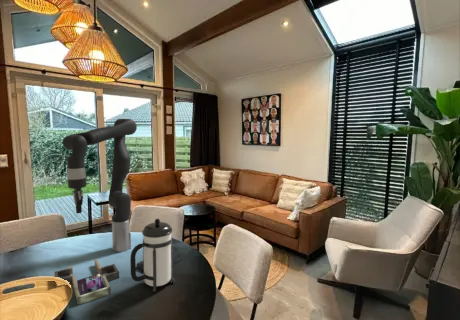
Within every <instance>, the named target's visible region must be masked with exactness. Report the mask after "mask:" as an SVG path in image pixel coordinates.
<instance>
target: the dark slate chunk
mask: <svg viewBox="0 0 460 320" xmlns="http://www.w3.org/2000/svg"><path fill="white" fill-rule="evenodd" d="M181 260H182V259H181V257H179V252H178V251H177V250H175V249H174V248H173V247H172V265H173V264H174V265H176V264H178V263H180V262H182V261H181ZM179 261H180V262H179ZM177 262H178V263H177ZM175 263H176V264H175ZM174 265H173V266H174ZM136 268H139V269H140V270H141V271H143V272H144V262H143V260H142V261H139V262H136Z"/></svg>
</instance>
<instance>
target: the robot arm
mask: <svg viewBox="0 0 460 320" xmlns="http://www.w3.org/2000/svg"><path fill="white" fill-rule="evenodd" d="M137 128H138V127H137V123H136V121H135V120H133V119H131V118H117V119H115V121H114V124H113V125H111V126H104V127H98V128H94V129H90V130H87V131H85V132H83V131H82V132H78V133H77V132H76V133H72V134H68V135H66V136H65V137H63V140H62V145H63V147H64V148H65V149H67V150H69V151H71V155H69V156H68V157H67V158H66V159H67V161H66V163H67V173H66V174H67V176H66V177H67V188H69V189H71V190H72V196H73V201H74V206H75V212H76V214H82V211H83V210H82V209H83V208H82V207H83V206H82V205H83V203H84V191H83V189H82V188H85V187H87V172H86V164H85V161H86V160H85V157H86V153H87V149H88V146H93V145H96V144H99V143H102V142H105V141H107V140H111V139H113V155H112V156H113V157H112V166H111V167H112V169H111V171H112V173H111V182H110V189H109V194H108V205H110V207H112V208H114V209H115V214H112V216H111V231H112V233H111V235H112V236H111V237H112V239H111V240H112V251H114V252H115V253H121V252H126V251H127V250H129V249H132V234H131V233H132V232H131V231H130V216H131V214H132V213H131V211H132V210H131V207H132V202H131V201H132V200H131V196H130V194H128V193H126V192H123V187H124V182H125V179H126V178H127V176H128V174H129V172H130V169H131V168H130V167H131V156H130V153H129V150H128V148H127V145H126V136H131V135H134V133H136V131H137Z"/></svg>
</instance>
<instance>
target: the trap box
mask: <svg viewBox="0 0 460 320" xmlns="http://www.w3.org/2000/svg"><path fill="white" fill-rule="evenodd" d="M94 266H95V269H96V271H97V274H98V273H101V281H102V285H103V286H104V287H102V289H101V288H100V289H99V290H98V289H95V290H96V291H95V290H92V291H93V292H92V291H90V292H88V293H87V294H84V295H80V293H79V290H78V285H77V279H76V276H75V274H73V271H74V270H73V265H69V267H67V268H64V269H59V270H55V271H54V278H55V277H60V278H62V279H64V280H67V281H68V282H70V284H72V286H73V292H74V295H75V298H76V303H77V305H81V304H85V303H87V302H91V301H93V300H96V299H99V298H102V297H106V296H109V295H111V294H112V292H111V291H112V289H111V285H110V283H109V282H110V281H113V280H116V279H119V278H120V271H119V270H118V268H117V266H116V264H115V263H113V264H109V265H105V266H101V265H100V263H99V261H98V259H97V258H95V259H94Z"/></svg>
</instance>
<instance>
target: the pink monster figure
mask: <svg viewBox="0 0 460 320" xmlns="http://www.w3.org/2000/svg"><path fill="white" fill-rule="evenodd" d="M96 278H97V279H96ZM87 279H88V280H89V281H88V282H87ZM76 283H77V286H78V290H79V293H80V295H84V294H87V293H89V292H88V291H89V290H91V289H93V288H95V287H96V286H97V285H98V288H97V289H95V290H92V291H91V292H93V291H96V290H99V289H102V288H103V282H102V274H101V273H98V272H97V273H95V274H93V275H89V276H86V277H83V278H81V279H78V280H77V279H76Z"/></svg>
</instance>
